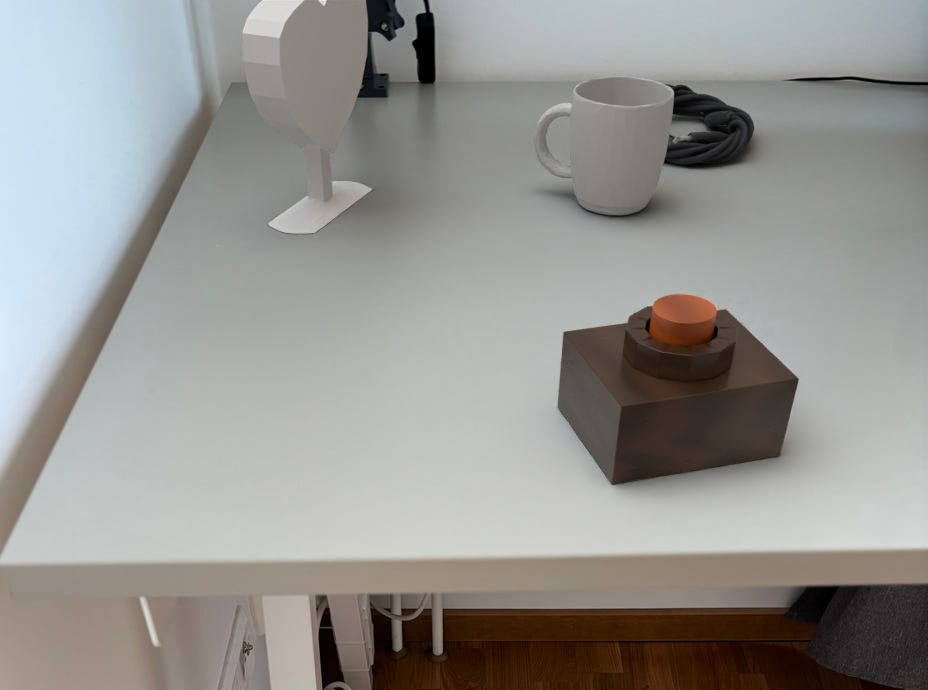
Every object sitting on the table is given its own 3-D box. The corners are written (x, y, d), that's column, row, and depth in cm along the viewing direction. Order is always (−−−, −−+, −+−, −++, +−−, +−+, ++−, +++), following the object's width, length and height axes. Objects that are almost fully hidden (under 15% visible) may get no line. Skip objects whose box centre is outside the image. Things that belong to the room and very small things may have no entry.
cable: (641, 107, 125) (645, 66, 122) (764, 122, 121) (772, 79, 118) (602, 157, 113) (606, 112, 110) (737, 174, 109) (746, 129, 106)
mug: (671, 195, 105) (687, 83, 98) (643, 228, 99) (657, 111, 92) (548, 174, 109) (555, 65, 102) (514, 205, 103) (519, 92, 96)
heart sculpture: (336, 174, 109) (323, -33, 97) (381, 182, 107) (373, -27, 95) (255, 231, 98) (228, 7, 86) (303, 241, 97) (283, 14, 85)
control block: (712, 382, 79) (730, 283, 74) (780, 456, 72) (806, 352, 67) (557, 406, 76) (564, 305, 71) (611, 485, 69) (624, 379, 64)
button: (695, 316, 71) (699, 290, 70) (723, 344, 68) (728, 318, 67) (638, 323, 70) (642, 298, 69) (665, 352, 67) (668, 326, 66)
